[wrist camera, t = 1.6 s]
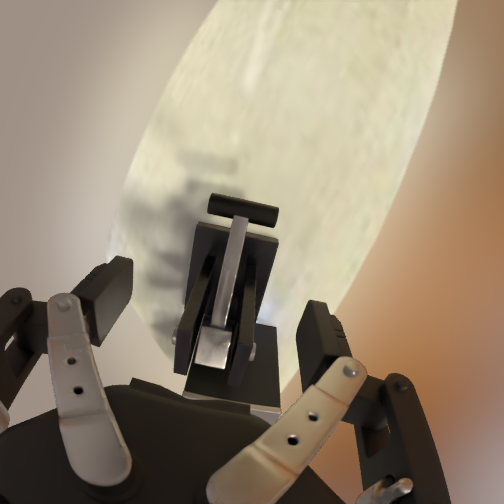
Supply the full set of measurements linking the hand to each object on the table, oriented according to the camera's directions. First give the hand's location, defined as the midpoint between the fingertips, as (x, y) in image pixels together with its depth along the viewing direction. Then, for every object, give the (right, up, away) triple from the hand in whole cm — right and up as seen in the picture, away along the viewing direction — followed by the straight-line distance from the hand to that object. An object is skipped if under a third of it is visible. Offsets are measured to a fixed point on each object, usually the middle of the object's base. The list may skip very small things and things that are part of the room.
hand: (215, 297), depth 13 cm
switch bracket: (-1, 0, +18) cm, 18 cm away
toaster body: (0, -9, +22) cm, 23 cm away
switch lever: (0, 0, +9) cm, 9 cm away
